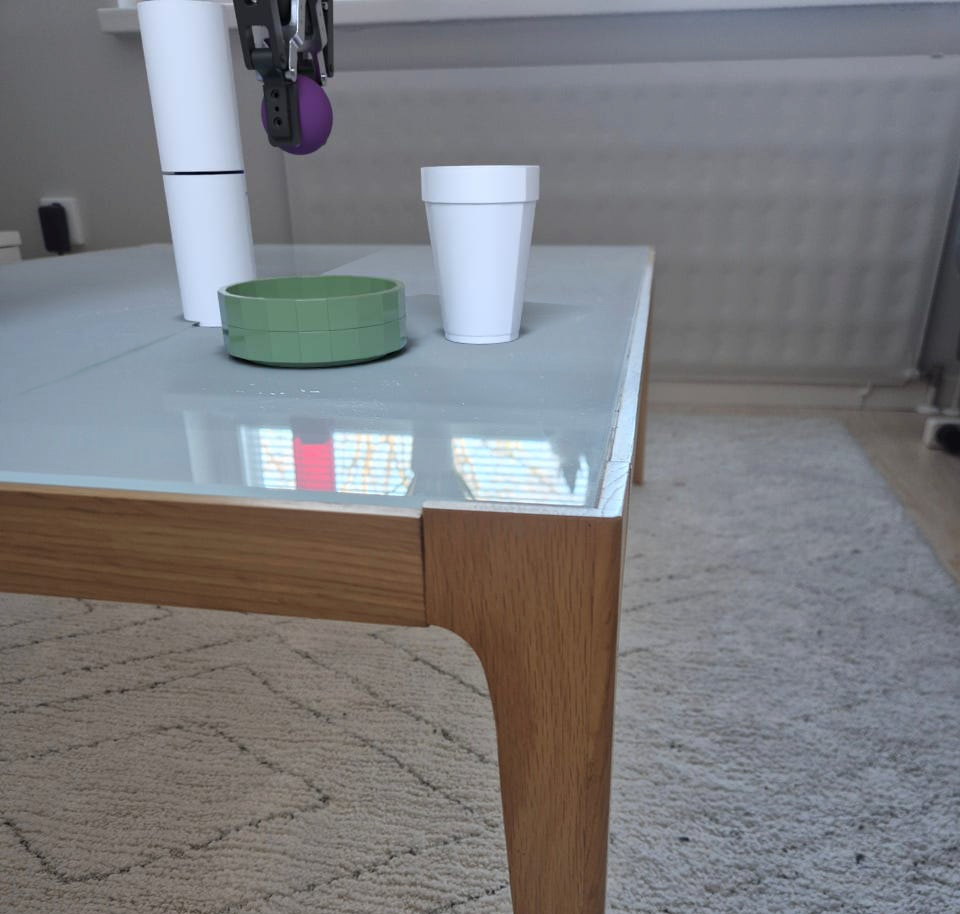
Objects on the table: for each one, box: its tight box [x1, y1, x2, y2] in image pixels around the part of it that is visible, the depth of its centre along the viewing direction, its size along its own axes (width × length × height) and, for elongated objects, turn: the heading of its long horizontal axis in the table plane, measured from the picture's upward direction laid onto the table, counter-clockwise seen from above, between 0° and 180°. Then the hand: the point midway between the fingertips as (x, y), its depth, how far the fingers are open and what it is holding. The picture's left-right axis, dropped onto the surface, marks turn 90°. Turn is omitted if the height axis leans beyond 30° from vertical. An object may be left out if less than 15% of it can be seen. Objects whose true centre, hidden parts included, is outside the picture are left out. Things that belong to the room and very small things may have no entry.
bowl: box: [217, 274, 408, 369], centre depth 74 cm, size 14×14×5 cm
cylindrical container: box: [136, 0, 258, 328], centre depth 84 cm, size 7×7×25 cm
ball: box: [260, 74, 334, 156], centre depth 66 cm, size 5×5×5 cm
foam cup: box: [420, 164, 541, 345], centre depth 77 cm, size 10×9×13 cm
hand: (299, 145), depth 67 cm, fingers closed on ball, 5 cm apart
